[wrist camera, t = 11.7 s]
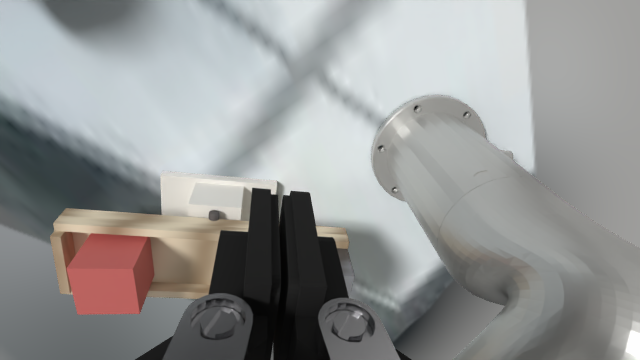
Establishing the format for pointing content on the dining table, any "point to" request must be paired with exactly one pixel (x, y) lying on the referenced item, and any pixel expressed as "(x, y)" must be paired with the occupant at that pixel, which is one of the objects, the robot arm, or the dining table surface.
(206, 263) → the beam
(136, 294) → the block
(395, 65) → the dining table surface
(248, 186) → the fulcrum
